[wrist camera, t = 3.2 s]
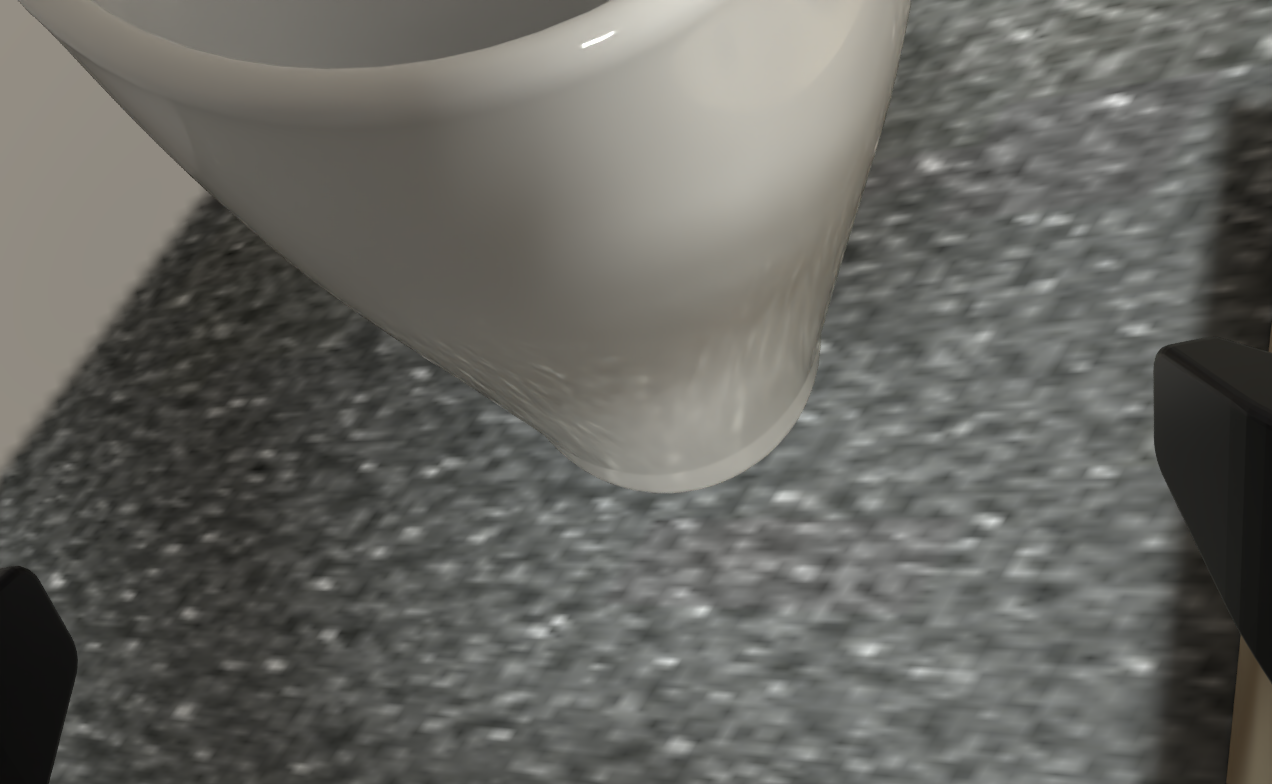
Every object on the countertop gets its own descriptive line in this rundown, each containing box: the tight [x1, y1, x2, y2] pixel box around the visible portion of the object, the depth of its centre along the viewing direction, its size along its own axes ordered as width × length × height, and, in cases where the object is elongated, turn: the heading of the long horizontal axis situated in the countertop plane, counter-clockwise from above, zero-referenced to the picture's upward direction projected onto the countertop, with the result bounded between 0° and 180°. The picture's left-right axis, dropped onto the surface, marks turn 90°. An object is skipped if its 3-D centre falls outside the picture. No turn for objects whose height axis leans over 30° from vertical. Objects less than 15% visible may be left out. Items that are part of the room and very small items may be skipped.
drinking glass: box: [18, 0, 912, 493], centre depth 15 cm, size 7×7×15 cm
